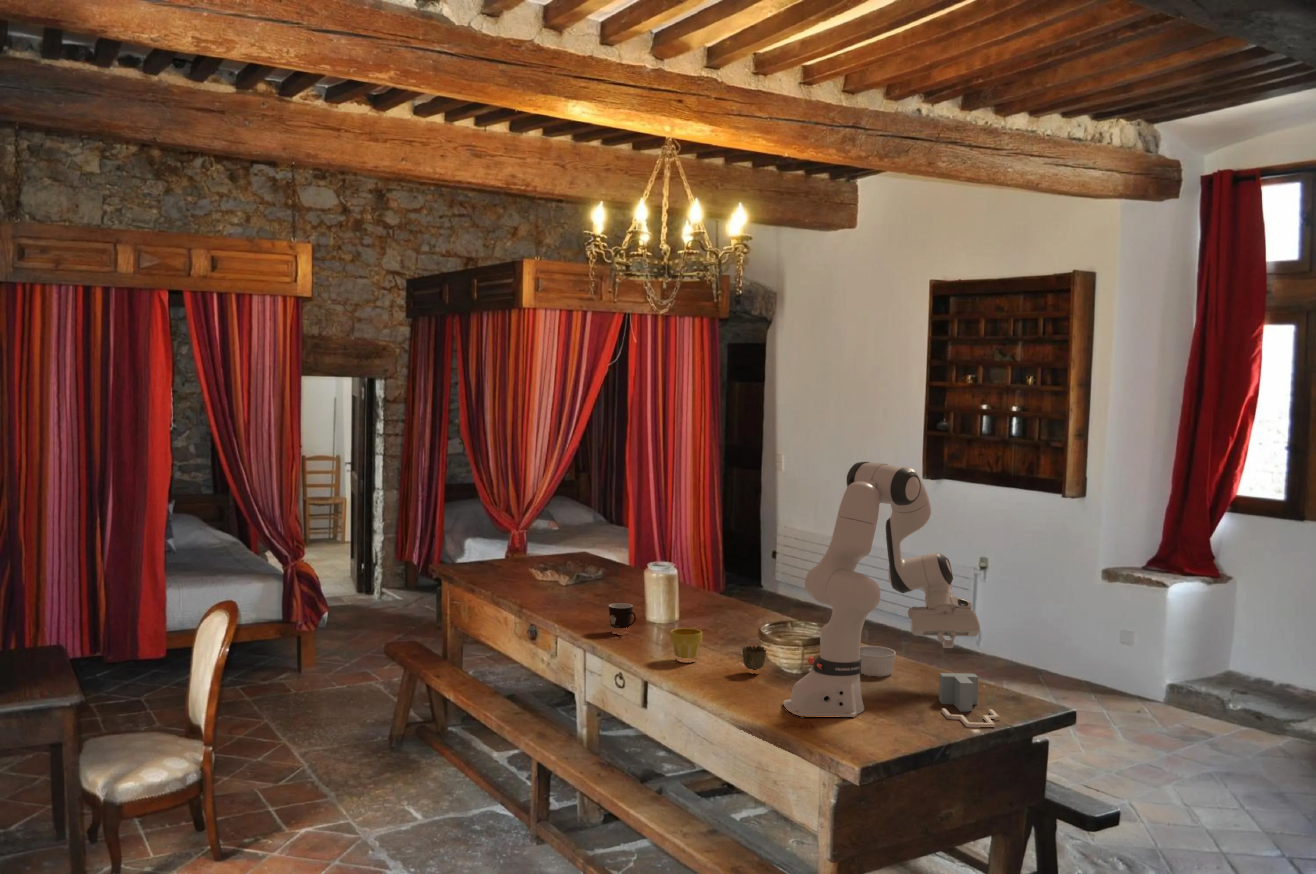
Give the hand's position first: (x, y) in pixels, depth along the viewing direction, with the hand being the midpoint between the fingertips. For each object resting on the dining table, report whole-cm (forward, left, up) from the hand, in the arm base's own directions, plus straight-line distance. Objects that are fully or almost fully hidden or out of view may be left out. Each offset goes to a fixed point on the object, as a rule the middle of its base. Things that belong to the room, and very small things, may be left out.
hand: (948, 646), depth 318 cm
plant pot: (-68, +46, -13) cm, 83 cm away
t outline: (-6, -26, -13) cm, 30 cm away
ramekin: (-13, +23, -13) cm, 30 cm away
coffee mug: (-81, +85, -13) cm, 118 cm away
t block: (-4, -14, -13) cm, 20 cm away
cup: (-51, +28, -13) cm, 60 cm away
